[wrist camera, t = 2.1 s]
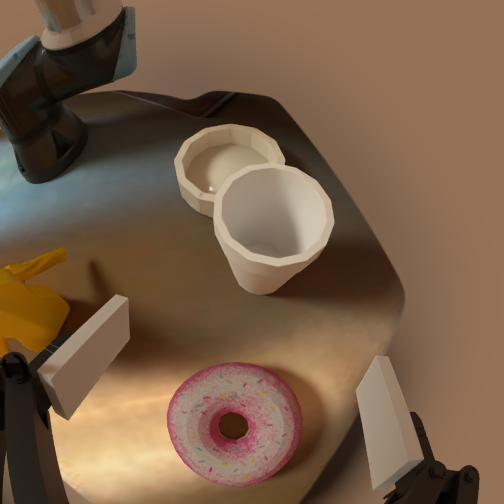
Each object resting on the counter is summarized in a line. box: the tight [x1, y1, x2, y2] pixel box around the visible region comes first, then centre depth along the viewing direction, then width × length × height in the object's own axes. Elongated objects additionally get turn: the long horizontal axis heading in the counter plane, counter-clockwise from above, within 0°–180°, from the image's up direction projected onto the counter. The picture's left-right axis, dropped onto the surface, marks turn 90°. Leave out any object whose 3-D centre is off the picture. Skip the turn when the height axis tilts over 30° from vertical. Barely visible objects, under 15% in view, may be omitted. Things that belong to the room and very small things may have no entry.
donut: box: [167, 362, 302, 486], centre depth 24 cm, size 14×13×5 cm
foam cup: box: [213, 163, 334, 295], centre depth 27 cm, size 10×9×13 cm
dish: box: [174, 124, 285, 219], centre depth 37 cm, size 14×14×4 cm
